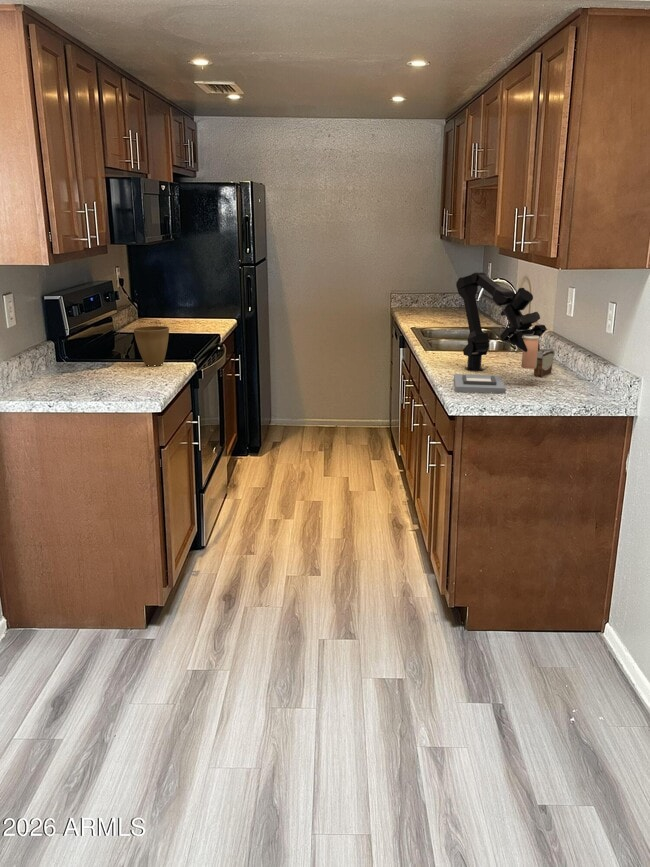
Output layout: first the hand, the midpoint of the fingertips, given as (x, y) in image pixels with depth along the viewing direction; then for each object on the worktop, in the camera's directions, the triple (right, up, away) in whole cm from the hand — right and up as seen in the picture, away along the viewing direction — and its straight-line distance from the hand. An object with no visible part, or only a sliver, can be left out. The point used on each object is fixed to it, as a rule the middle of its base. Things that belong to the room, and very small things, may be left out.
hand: (532, 350), depth 282 cm
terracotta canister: (-1, -6, +3) cm, 7 cm away
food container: (+9, -7, +24) cm, 27 cm away
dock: (-20, -13, +3) cm, 24 cm away
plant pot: (-153, -2, +40) cm, 158 cm away
